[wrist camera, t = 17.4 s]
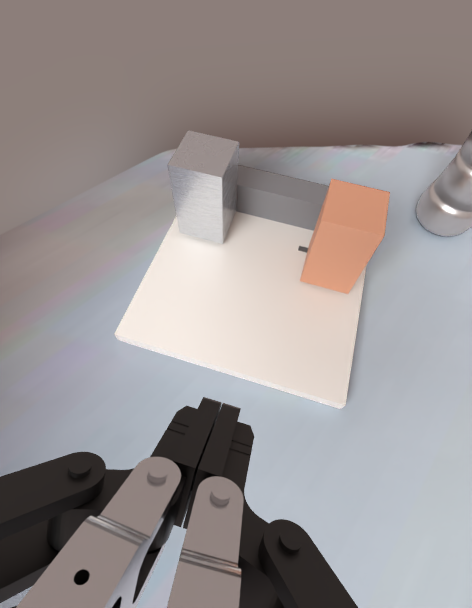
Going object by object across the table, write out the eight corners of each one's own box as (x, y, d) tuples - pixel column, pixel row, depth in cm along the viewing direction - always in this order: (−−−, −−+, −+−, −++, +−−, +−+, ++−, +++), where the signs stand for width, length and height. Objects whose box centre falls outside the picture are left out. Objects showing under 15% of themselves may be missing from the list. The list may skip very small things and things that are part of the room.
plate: (340, 409, 31) (361, 394, 26) (118, 340, 34) (100, 315, 29) (368, 230, 41) (387, 196, 37) (196, 188, 44) (192, 151, 39)
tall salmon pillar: (348, 294, 35) (384, 235, 27) (299, 281, 35) (321, 220, 27) (354, 256, 37) (389, 192, 29) (309, 244, 38) (331, 178, 30)
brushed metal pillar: (222, 244, 37) (222, 177, 29) (179, 232, 38) (167, 164, 30) (236, 211, 40) (238, 141, 32) (195, 201, 40) (188, 130, 32)
